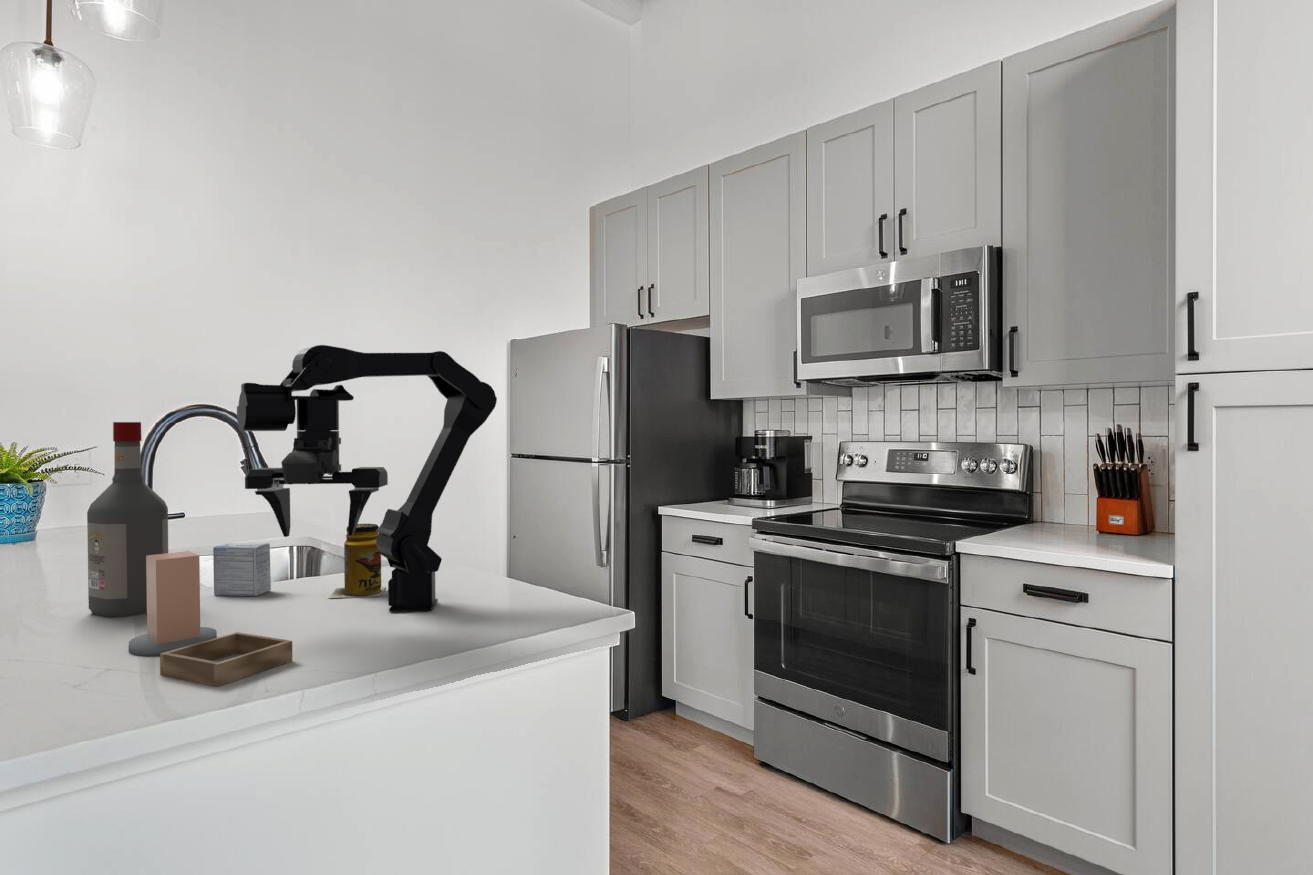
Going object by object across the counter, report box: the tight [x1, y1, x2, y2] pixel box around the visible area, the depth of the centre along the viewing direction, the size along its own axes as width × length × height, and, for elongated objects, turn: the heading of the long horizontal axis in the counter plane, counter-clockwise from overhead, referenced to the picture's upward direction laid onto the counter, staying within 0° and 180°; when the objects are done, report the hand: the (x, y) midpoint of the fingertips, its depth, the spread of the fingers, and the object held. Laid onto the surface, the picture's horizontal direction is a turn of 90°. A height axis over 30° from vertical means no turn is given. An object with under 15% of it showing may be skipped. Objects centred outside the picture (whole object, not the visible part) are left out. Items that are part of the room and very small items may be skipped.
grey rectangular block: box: [212, 542, 272, 597], centre depth 132 cm, size 8×4×9 cm, turn 84°
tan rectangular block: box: [146, 550, 201, 644], centre depth 101 cm, size 5×5×11 cm
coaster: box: [128, 626, 218, 656], centre depth 101 cm, size 10×10×1 cm
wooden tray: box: [159, 631, 293, 687], centre depth 92 cm, size 10×10×2 cm
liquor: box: [86, 421, 169, 618], centre depth 120 cm, size 9×9×30 cm
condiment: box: [328, 523, 386, 599], centre depth 132 cm, size 7×8×12 cm
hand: (319, 535), depth 112 cm, fingers open, 9 cm apart
